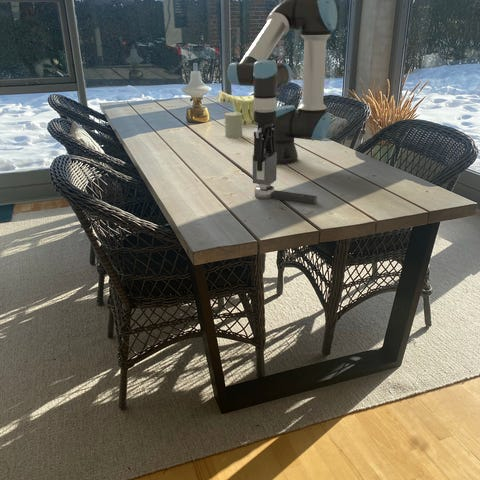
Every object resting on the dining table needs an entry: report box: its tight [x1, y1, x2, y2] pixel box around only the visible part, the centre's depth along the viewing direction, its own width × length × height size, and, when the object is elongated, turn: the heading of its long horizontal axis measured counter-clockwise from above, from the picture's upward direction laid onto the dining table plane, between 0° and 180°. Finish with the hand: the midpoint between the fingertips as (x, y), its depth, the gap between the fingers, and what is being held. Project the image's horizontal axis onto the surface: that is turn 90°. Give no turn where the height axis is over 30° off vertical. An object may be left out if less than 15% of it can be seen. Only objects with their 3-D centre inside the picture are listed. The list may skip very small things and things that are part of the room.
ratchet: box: [254, 184, 318, 206], centre depth 172 cm, size 7×22×6 cm, turn 65°
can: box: [224, 111, 243, 139], centre depth 256 cm, size 9×9×12 cm
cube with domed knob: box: [252, 151, 278, 186], centre depth 171 cm, size 6×6×10 cm
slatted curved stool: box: [218, 89, 258, 125], centre depth 288 cm, size 30×16×18 cm, turn 100°
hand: (264, 176), depth 173 cm, fingers closed on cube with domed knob, 6 cm apart
